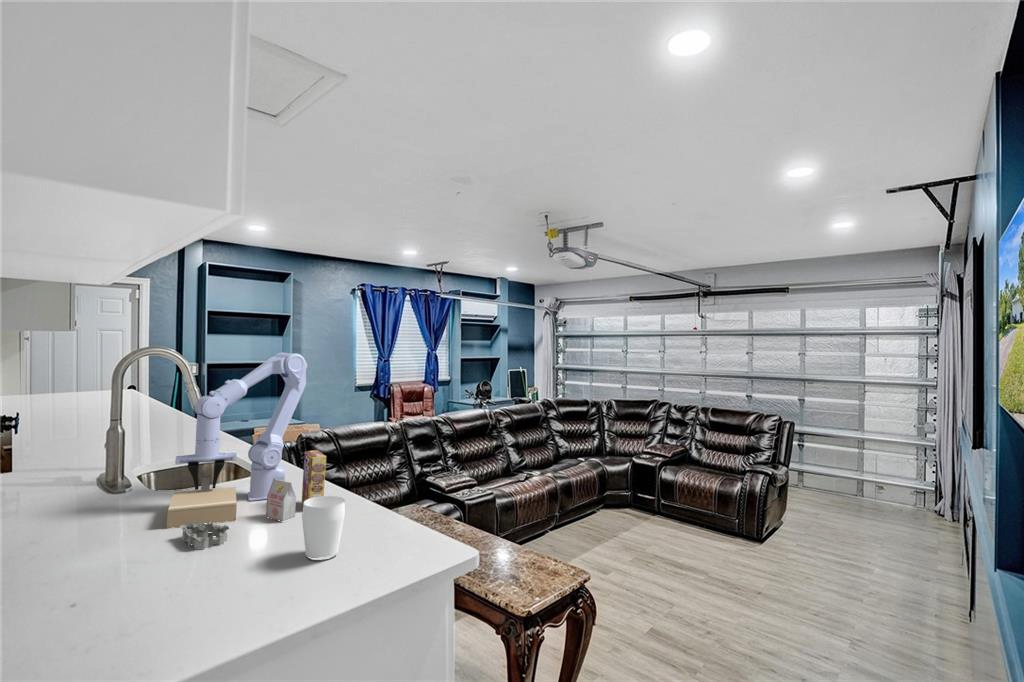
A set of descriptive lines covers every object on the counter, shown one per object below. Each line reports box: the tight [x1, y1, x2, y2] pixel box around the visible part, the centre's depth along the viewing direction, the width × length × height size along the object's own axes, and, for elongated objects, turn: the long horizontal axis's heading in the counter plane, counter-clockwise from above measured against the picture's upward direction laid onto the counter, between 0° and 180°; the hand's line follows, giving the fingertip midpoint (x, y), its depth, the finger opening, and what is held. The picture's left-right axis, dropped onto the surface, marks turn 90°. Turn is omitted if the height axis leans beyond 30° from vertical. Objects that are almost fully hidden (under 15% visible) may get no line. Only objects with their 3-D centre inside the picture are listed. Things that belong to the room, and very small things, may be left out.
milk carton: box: [265, 479, 297, 521], centre depth 136 cm, size 4×7×10 cm, turn 61°
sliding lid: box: [167, 475, 237, 512], centre depth 136 cm, size 15×16×4 cm
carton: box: [166, 502, 237, 529], centre depth 136 cm, size 15×16×4 cm
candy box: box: [301, 450, 327, 505], centre depth 147 cm, size 9×4×15 cm, turn 35°
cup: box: [301, 495, 346, 558], centre depth 114 cm, size 9×9×12 cm
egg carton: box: [181, 522, 230, 550], centre depth 119 cm, size 11×8×4 cm
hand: (205, 488), depth 142 cm, fingers open, 3 cm apart
